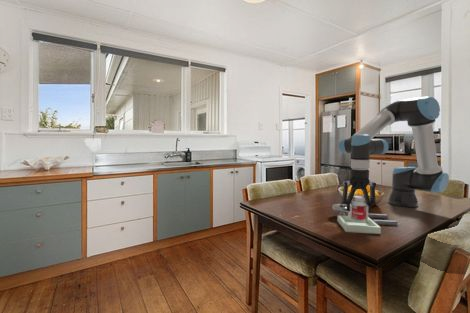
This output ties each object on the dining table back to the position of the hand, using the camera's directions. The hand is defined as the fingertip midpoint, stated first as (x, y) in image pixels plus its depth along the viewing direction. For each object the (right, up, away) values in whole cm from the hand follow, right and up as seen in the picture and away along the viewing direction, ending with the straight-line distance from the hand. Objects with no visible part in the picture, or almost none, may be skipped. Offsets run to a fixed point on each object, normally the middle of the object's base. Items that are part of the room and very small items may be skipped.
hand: (357, 218), depth 109 cm
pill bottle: (0, -1, 0) cm, 1 cm away
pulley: (-1, -3, +14) cm, 14 cm away
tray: (0, -4, 0) cm, 4 cm away
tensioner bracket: (+15, -3, +8) cm, 18 cm away
